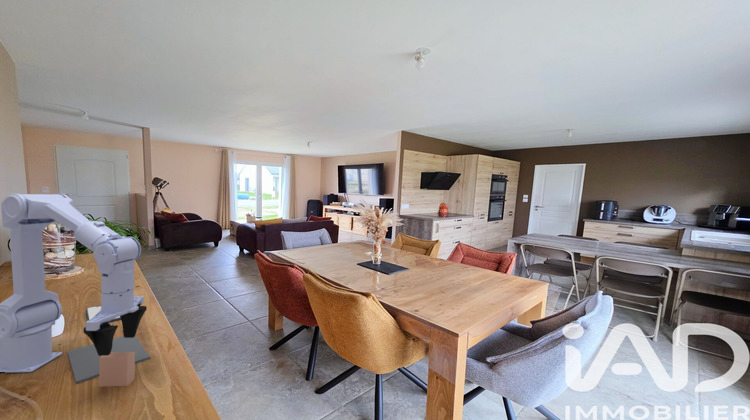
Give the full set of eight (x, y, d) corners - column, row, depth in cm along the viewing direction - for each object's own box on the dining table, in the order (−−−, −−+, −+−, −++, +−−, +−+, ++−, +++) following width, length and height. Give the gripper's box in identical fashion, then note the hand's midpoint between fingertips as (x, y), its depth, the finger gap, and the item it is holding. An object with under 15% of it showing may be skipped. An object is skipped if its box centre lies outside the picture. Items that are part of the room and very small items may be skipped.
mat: (150, 358, 77) (150, 356, 77) (76, 384, 66) (76, 381, 66) (133, 334, 88) (133, 333, 88) (67, 353, 77) (67, 351, 77)
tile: (99, 386, 66) (99, 357, 65) (108, 379, 68) (108, 351, 68) (127, 385, 67) (127, 357, 66) (135, 378, 69) (135, 351, 69)
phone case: (124, 321, 98) (118, 305, 108) (124, 316, 97) (118, 301, 108) (88, 329, 91) (85, 312, 101) (88, 324, 91) (85, 308, 101)
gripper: (111, 302, 59) (111, 363, 60) (156, 280, 74) (155, 330, 75) (74, 301, 58) (74, 364, 59) (127, 279, 73) (126, 330, 74)
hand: (117, 345), depth 67 cm, fingers open, 7 cm apart
